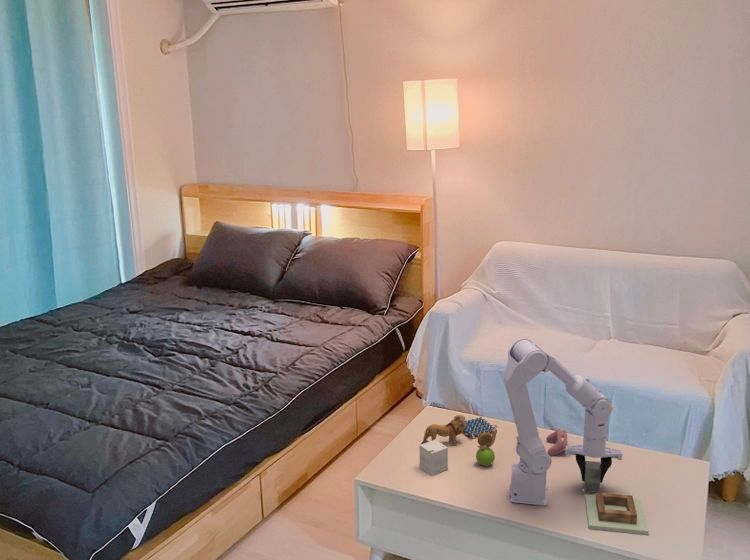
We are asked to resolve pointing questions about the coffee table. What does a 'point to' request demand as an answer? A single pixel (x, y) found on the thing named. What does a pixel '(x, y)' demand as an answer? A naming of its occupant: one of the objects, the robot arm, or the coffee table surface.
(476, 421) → the woven mat
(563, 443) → the video game controller
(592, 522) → the socket block
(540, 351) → the robot arm
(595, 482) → the grey brown rectangular block
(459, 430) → the lion figurine
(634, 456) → the coffee table surface
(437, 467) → the skincare box
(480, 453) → the animal on green ball
